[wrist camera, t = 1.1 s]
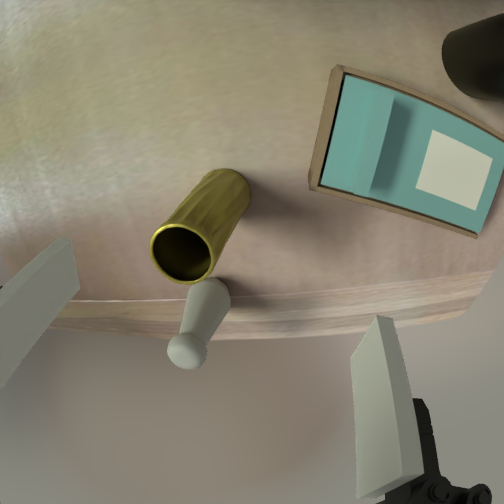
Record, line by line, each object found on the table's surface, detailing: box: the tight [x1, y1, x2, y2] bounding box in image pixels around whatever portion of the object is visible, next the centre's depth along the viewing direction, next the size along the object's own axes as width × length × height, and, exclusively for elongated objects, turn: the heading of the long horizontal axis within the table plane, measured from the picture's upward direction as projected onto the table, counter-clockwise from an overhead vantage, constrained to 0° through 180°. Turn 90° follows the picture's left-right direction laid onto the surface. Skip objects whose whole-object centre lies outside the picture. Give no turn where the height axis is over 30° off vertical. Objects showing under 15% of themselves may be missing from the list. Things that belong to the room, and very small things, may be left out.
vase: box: [149, 169, 251, 285], centre depth 28 cm, size 6×6×14 cm
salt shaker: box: [167, 277, 231, 369], centre depth 35 cm, size 6×6×13 cm
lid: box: [320, 75, 504, 233], centre depth 23 cm, size 10×19×4 cm, turn 80°
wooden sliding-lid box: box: [308, 64, 504, 239], centre depth 26 cm, size 12×20×5 cm, turn 80°
